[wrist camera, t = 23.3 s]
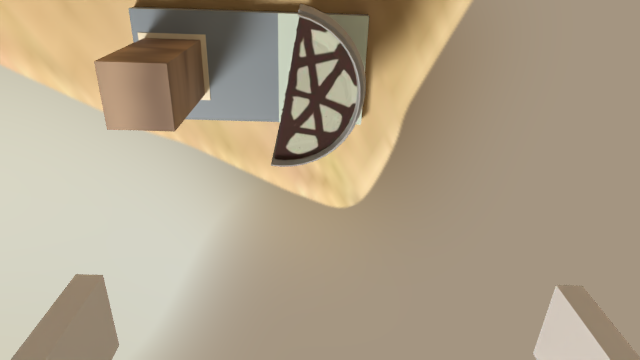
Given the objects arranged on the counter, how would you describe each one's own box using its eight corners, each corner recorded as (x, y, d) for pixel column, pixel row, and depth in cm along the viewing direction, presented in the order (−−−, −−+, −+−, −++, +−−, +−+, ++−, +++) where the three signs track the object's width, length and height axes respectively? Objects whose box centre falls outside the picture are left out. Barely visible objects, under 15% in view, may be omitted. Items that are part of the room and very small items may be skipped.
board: (149, 114, 45) (144, 118, 43) (133, 6, 40) (128, 8, 39) (359, 120, 45) (361, 124, 44) (367, 14, 40) (369, 16, 39)
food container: (340, 139, 44) (346, 185, 35) (279, 127, 44) (269, 171, 35) (372, 10, 39) (388, 26, 30) (303, -6, 38) (299, 6, 30)
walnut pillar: (151, 92, 42) (107, 129, 33) (144, 37, 40) (94, 61, 31) (204, 94, 42) (174, 131, 33) (200, 39, 40) (166, 63, 31)
